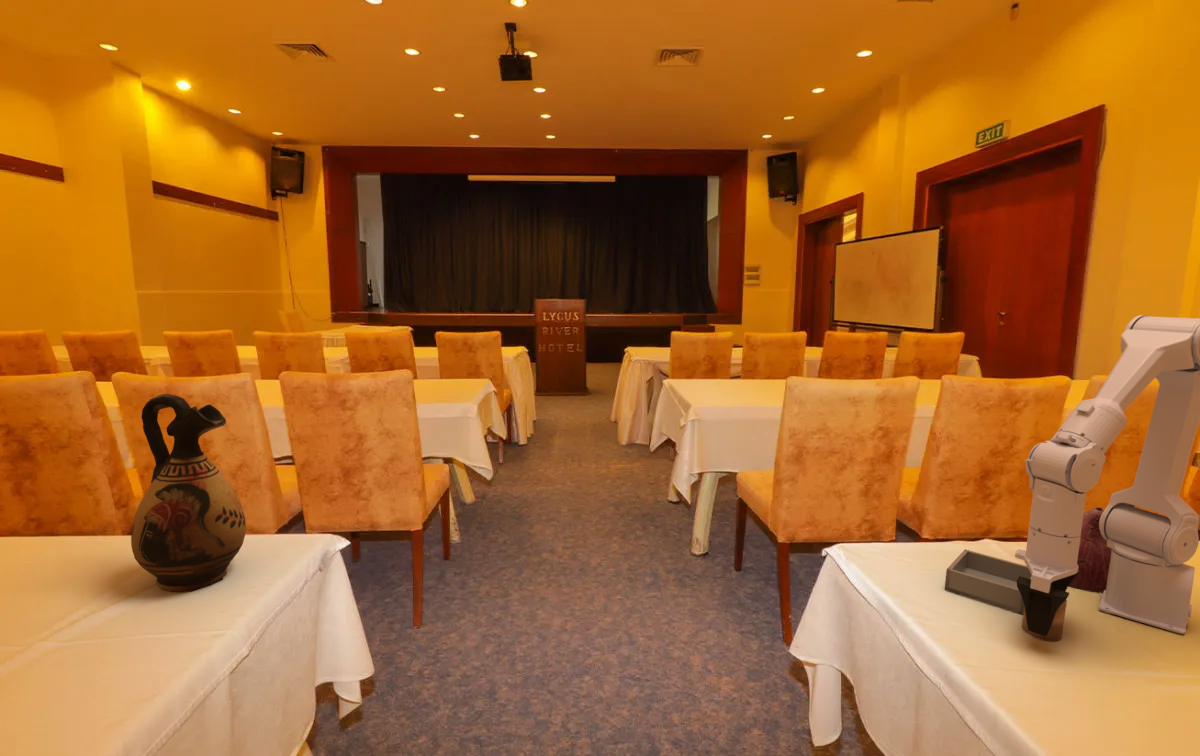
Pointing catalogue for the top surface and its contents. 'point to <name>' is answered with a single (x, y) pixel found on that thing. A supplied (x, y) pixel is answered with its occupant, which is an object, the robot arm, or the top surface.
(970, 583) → the grey bin
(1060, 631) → the walnut cylinder
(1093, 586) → the vegetable
